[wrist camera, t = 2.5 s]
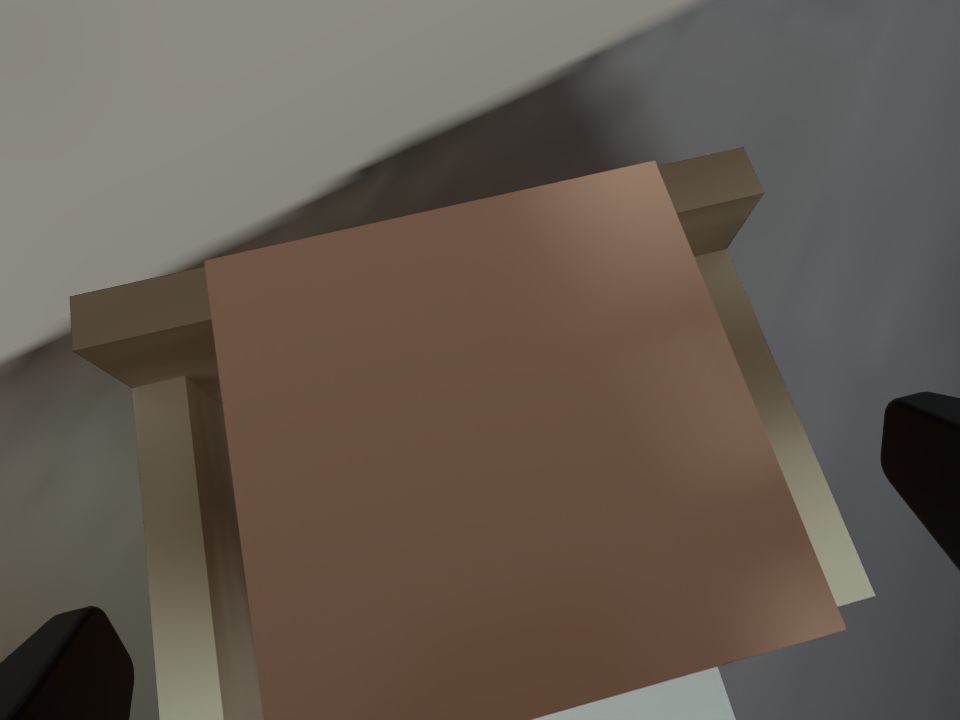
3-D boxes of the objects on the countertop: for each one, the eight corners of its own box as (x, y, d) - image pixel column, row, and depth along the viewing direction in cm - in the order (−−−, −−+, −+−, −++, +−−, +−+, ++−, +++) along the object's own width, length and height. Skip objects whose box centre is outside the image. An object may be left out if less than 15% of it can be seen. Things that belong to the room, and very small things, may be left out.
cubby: (779, 599, 15) (950, 593, 10) (248, 747, 14) (98, 837, 9) (662, 291, 18) (743, 147, 12) (206, 400, 17) (70, 296, 11)
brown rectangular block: (624, 617, 15) (845, 628, 6) (406, 677, 15) (273, 793, 6) (560, 408, 17) (654, 159, 8) (362, 458, 17) (204, 261, 7)
